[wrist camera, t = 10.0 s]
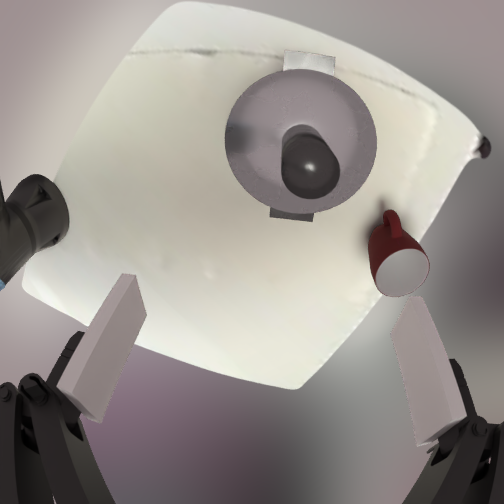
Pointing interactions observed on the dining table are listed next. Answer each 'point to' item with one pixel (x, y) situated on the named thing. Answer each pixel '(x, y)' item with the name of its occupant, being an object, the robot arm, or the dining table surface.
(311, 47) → the dining table surface
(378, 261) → the mug
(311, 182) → the lid
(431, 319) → the robot arm
